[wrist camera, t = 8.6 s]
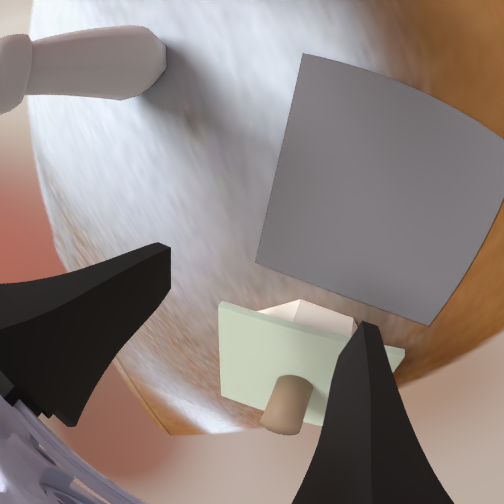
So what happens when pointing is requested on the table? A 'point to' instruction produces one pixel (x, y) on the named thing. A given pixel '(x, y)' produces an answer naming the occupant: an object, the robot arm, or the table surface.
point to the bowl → (313, 317)
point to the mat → (379, 190)
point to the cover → (280, 366)
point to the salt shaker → (80, 64)
